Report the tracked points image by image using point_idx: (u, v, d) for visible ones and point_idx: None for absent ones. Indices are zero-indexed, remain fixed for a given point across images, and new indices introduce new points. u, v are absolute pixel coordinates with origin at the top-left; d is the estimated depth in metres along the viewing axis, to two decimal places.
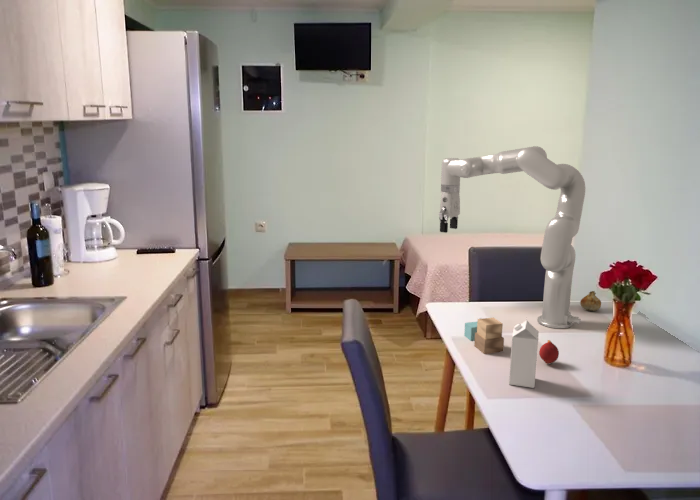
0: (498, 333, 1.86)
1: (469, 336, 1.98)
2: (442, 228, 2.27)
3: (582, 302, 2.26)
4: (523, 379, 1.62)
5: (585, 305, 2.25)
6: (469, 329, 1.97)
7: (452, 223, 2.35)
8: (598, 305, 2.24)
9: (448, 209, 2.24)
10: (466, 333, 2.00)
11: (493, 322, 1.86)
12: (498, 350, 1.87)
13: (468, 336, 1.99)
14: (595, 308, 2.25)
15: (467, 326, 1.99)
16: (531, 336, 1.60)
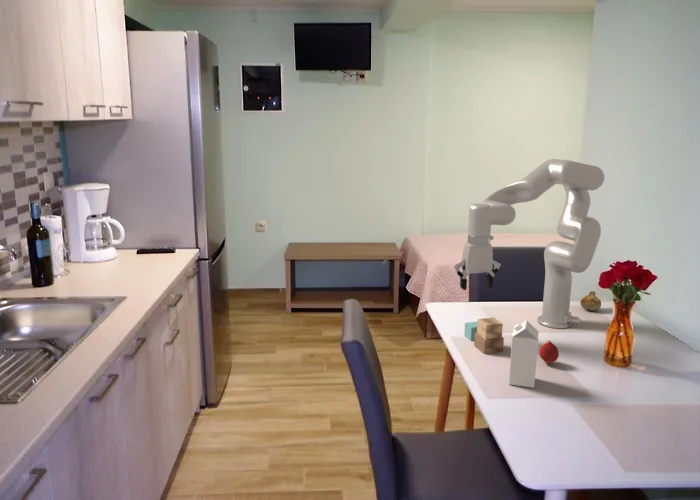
0: (498, 333, 1.86)
1: (469, 336, 1.98)
2: None
3: (582, 302, 2.26)
4: (523, 379, 1.62)
5: (585, 305, 2.25)
6: (469, 329, 1.97)
7: None
8: (598, 305, 2.24)
9: None
10: (466, 333, 2.00)
11: (493, 322, 1.86)
12: (498, 350, 1.87)
13: (468, 336, 1.99)
14: (595, 308, 2.25)
15: (467, 326, 1.99)
16: (531, 336, 1.60)
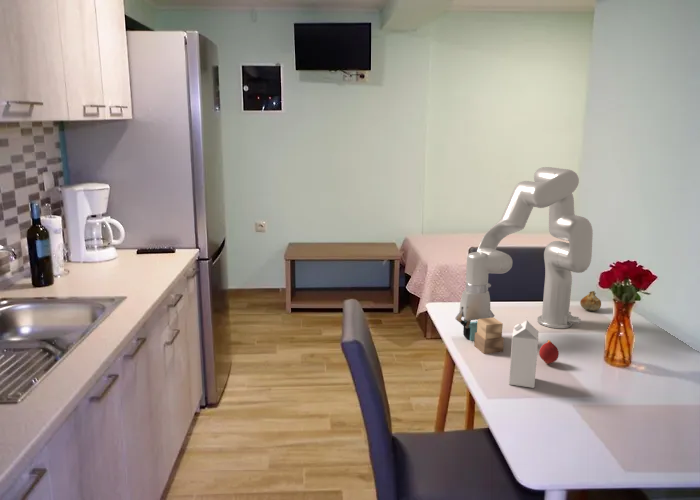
0: (498, 333, 1.86)
1: None
2: None
3: (582, 302, 2.26)
4: (523, 379, 1.62)
5: (585, 305, 2.25)
6: None
7: None
8: (598, 305, 2.24)
9: None
10: None
11: (493, 322, 1.86)
12: (498, 350, 1.87)
13: None
14: (595, 308, 2.25)
15: None
16: (531, 336, 1.60)
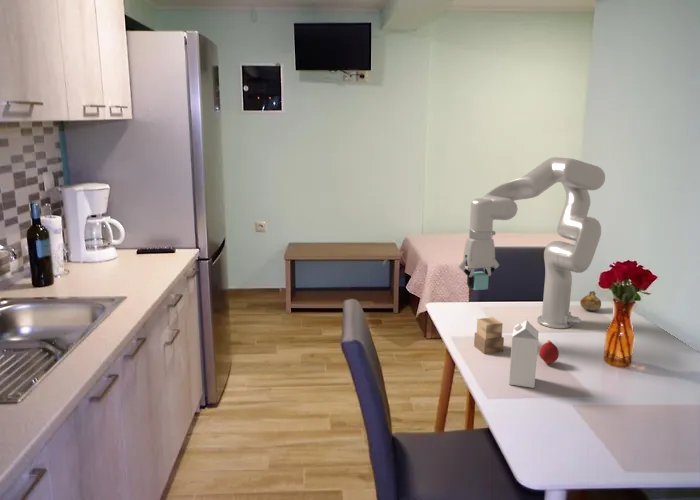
0: (498, 333, 1.86)
1: None
2: None
3: (582, 302, 2.26)
4: (523, 379, 1.62)
5: (585, 305, 2.25)
6: None
7: None
8: (598, 305, 2.24)
9: None
10: None
11: (493, 322, 1.87)
12: (498, 350, 1.87)
13: None
14: (595, 308, 2.25)
15: None
16: (531, 336, 1.60)
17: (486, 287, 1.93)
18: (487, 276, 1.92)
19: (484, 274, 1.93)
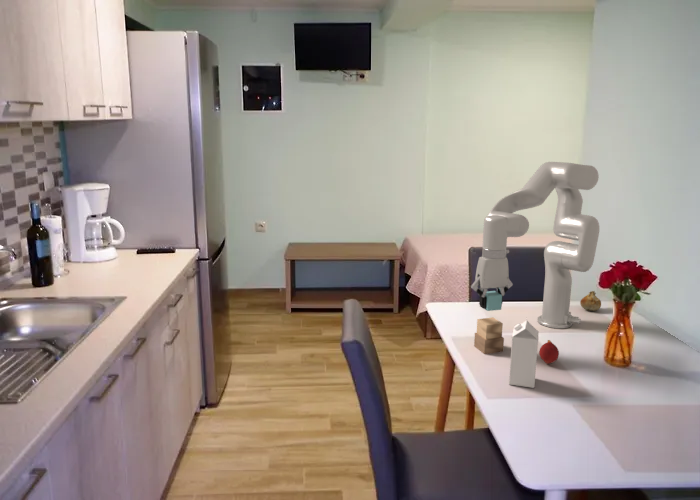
0: (498, 333, 1.86)
1: (486, 306, 1.84)
2: None
3: (582, 302, 2.26)
4: (523, 379, 1.62)
5: (585, 305, 2.25)
6: None
7: None
8: (598, 305, 2.24)
9: None
10: None
11: (493, 322, 1.86)
12: (498, 350, 1.87)
13: None
14: (595, 308, 2.25)
15: None
16: (531, 336, 1.60)
17: (499, 308, 1.85)
18: (500, 296, 1.84)
19: (497, 294, 1.85)
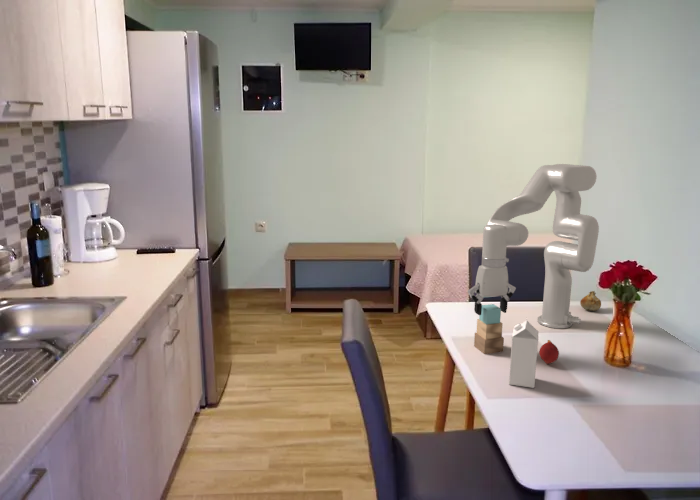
0: (498, 333, 1.86)
1: (484, 319, 1.86)
2: None
3: (582, 302, 2.26)
4: (523, 379, 1.62)
5: (585, 305, 2.25)
6: (485, 312, 1.85)
7: None
8: (598, 305, 2.24)
9: None
10: (481, 316, 1.88)
11: None
12: (498, 350, 1.87)
13: (483, 319, 1.86)
14: (595, 308, 2.25)
15: (482, 309, 1.87)
16: (531, 336, 1.60)
17: (498, 321, 1.86)
18: (499, 310, 1.85)
19: (496, 308, 1.86)
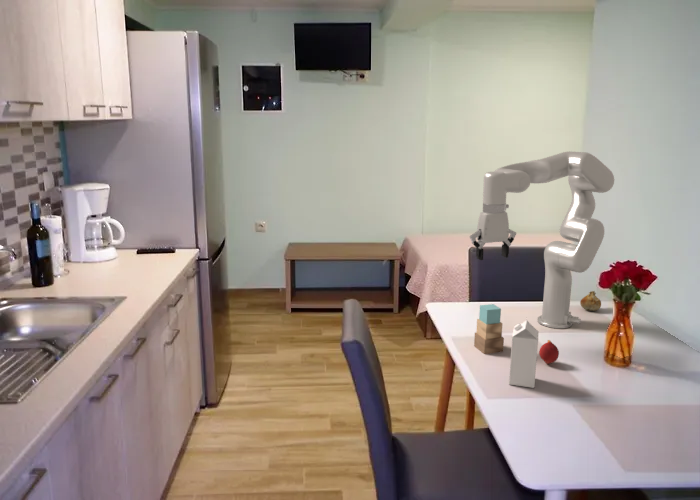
0: (498, 333, 1.86)
1: (485, 319, 1.85)
2: None
3: (582, 302, 2.26)
4: (523, 379, 1.62)
5: (585, 305, 2.25)
6: (485, 312, 1.85)
7: None
8: (598, 305, 2.24)
9: None
10: (481, 316, 1.88)
11: None
12: (498, 350, 1.87)
13: (483, 319, 1.86)
14: (595, 308, 2.25)
15: (482, 309, 1.87)
16: (531, 336, 1.60)
17: (498, 321, 1.86)
18: (499, 310, 1.85)
19: (496, 308, 1.86)
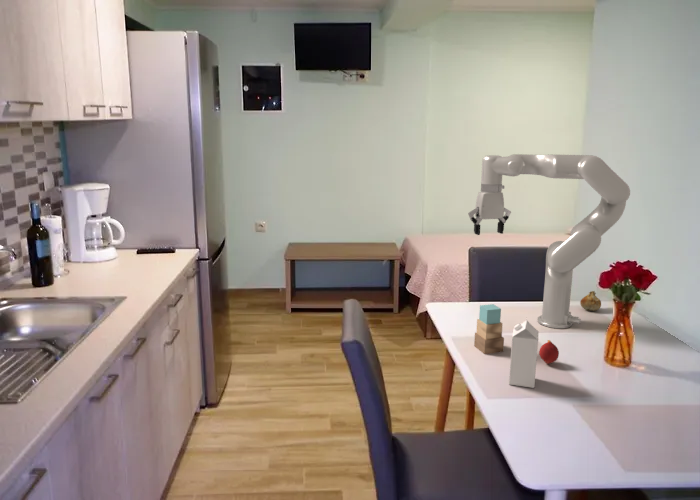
0: (498, 333, 1.86)
1: (485, 319, 1.85)
2: None
3: (582, 302, 2.26)
4: (523, 379, 1.62)
5: (585, 305, 2.25)
6: (485, 312, 1.85)
7: None
8: (598, 305, 2.24)
9: None
10: (481, 316, 1.88)
11: None
12: (498, 350, 1.87)
13: (483, 319, 1.86)
14: (595, 308, 2.25)
15: (482, 309, 1.87)
16: (531, 336, 1.60)
17: (498, 321, 1.86)
18: (499, 310, 1.85)
19: (496, 308, 1.86)
